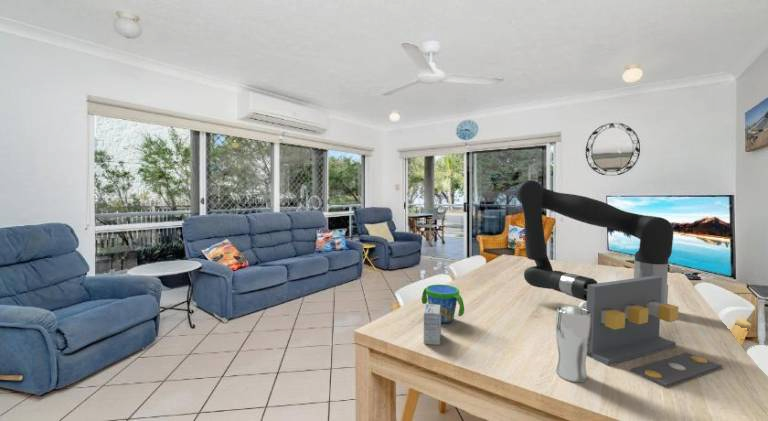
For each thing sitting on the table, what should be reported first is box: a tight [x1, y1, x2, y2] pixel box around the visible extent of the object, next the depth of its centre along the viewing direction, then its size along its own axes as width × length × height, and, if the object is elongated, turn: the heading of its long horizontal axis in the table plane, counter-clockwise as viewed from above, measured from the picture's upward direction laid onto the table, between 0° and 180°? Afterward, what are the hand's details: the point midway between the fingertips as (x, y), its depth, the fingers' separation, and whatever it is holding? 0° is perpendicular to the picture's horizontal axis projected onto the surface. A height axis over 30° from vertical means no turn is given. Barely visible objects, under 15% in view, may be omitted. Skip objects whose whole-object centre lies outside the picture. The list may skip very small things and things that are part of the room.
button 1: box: [577, 300, 625, 330], centre depth 86 cm, size 4×10×4 cm, turn 22°
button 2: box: [646, 301, 679, 323], centre depth 91 cm, size 4×10×4 cm, turn 22°
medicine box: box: [423, 303, 442, 346], centre depth 93 cm, size 8×4×9 cm, turn 168°
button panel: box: [586, 276, 677, 367], centre depth 89 cm, size 27×10×18 cm, turn 112°
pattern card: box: [630, 351, 723, 388], centre depth 78 cm, size 22×7×1 cm, turn 112°
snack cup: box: [421, 284, 465, 324], centre depth 107 cm, size 16×10×10 cm
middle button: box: [624, 305, 648, 324], centre depth 89 cm, size 4×10×4 cm, turn 22°
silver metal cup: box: [555, 304, 592, 384], centre depth 75 cm, size 7×7×15 cm
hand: (633, 302), depth 95 cm, fingers closed
